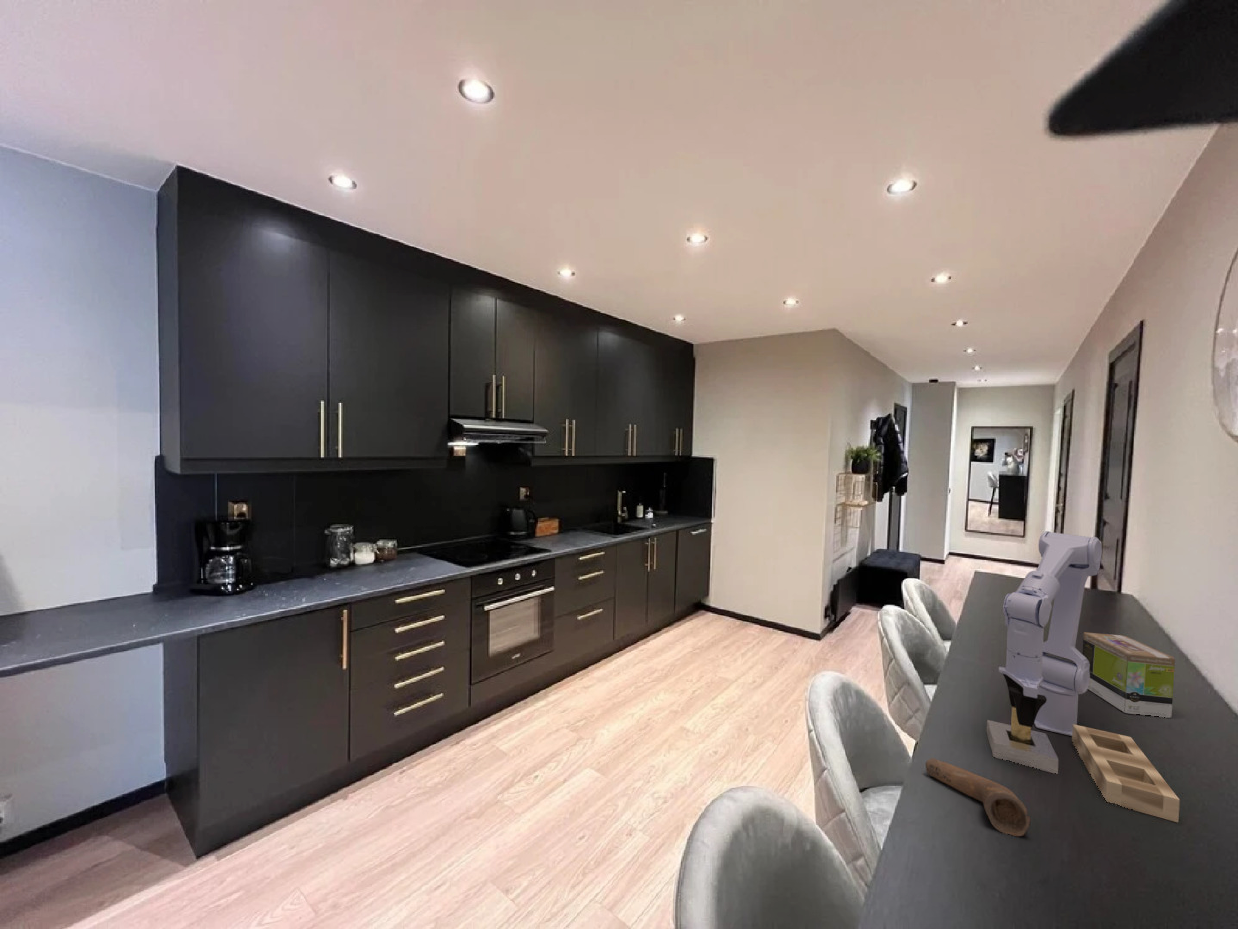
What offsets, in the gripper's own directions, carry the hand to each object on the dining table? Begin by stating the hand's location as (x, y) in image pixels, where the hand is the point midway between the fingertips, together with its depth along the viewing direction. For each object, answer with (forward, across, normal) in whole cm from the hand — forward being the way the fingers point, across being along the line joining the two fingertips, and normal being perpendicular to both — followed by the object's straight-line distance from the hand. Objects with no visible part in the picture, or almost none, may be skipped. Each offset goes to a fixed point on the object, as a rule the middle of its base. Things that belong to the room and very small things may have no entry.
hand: (1021, 716), depth 102 cm
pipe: (+8, +23, -10) cm, 26 cm away
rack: (+8, 0, +15) cm, 17 cm away
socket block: (+8, 0, 0) cm, 8 cm away
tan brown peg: (+8, 0, 0) cm, 8 cm away
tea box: (+8, -41, +27) cm, 50 cm away
